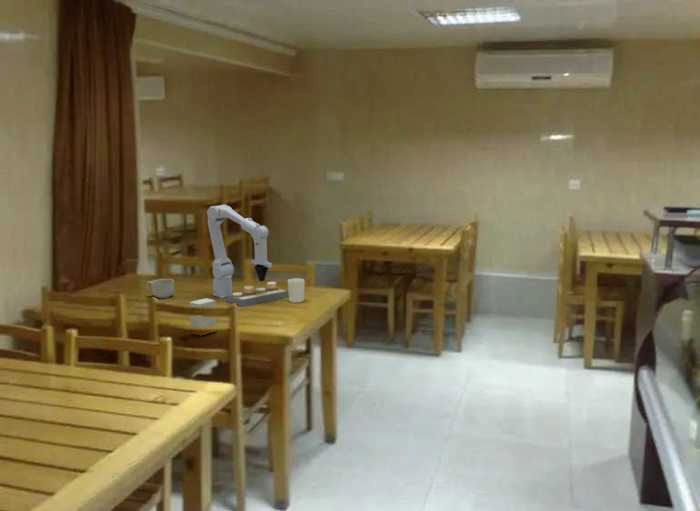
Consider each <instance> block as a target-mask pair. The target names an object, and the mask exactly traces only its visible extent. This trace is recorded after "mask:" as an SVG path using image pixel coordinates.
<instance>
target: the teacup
mask: <svg viewBox="0 0 700 511" xmlns="http://www.w3.org/2000/svg"><path fill="white" fill-rule="evenodd" d="M150 284H151V286H150ZM146 288H147V289H148V290H149V291H150V292H152V295H153V296H154V297H156V298H157V297H158V298H157V299H167V298H170V297H171V296H173V294H174V293H175V281H174V279H172V278H160V279H155V280H149V281H147V282H146Z"/></svg>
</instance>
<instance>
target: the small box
mask: <svg viewBox="0 0 700 511" xmlns="http://www.w3.org/2000/svg"><path fill="white" fill-rule="evenodd" d="M188 304H189V308H190V307H216V306H217V305H216V300H215V299H211V298H202V299H197V300H193V301H190V302H188ZM216 308H217V307H216ZM189 316H190V315H189ZM189 319H190V320H189V321H190V327H191V326H194V327H199V328H202V327H207V326H217V327H218V324H217V322H218V321H217V317H216V318H209V317H203V316H201V315H198V316H190V318H189Z"/></svg>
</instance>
